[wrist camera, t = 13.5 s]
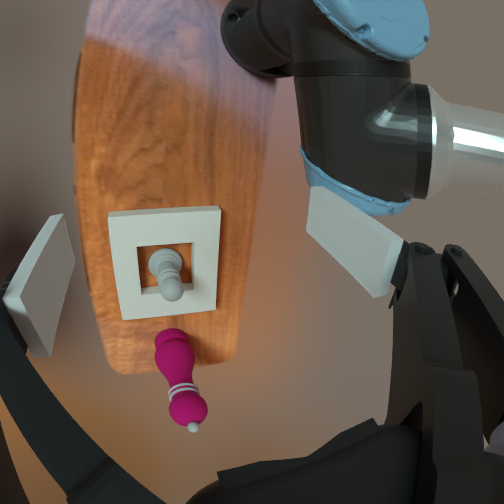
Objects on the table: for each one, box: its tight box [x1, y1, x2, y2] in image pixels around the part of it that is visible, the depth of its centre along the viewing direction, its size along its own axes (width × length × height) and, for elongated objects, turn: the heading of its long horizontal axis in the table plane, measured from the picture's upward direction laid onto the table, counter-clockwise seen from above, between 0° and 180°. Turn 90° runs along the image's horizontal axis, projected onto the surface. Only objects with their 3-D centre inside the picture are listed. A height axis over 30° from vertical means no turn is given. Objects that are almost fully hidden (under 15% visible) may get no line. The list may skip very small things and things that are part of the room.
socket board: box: [108, 206, 221, 320], centre depth 44 cm, size 18×16×2 cm
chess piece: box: [148, 248, 184, 302], centre depth 41 cm, size 5×5×9 cm
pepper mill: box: [155, 329, 208, 432], centre depth 45 cm, size 7×7×20 cm
